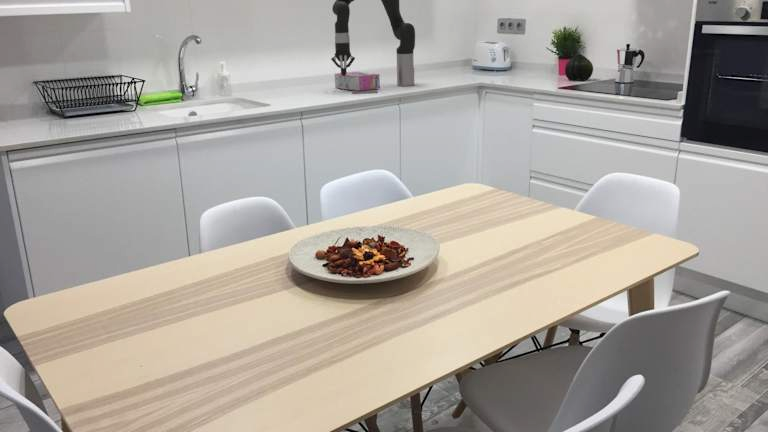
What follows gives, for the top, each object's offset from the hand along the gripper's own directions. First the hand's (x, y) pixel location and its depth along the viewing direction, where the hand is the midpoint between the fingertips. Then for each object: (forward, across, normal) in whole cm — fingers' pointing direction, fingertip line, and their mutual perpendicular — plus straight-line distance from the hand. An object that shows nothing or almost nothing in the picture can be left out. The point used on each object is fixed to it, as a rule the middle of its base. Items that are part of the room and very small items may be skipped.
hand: (343, 75), depth 360 cm
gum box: (+4, -1, -2) cm, 4 cm away
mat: (+8, -10, 0) cm, 13 cm away
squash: (+8, -130, -6) cm, 131 cm away
